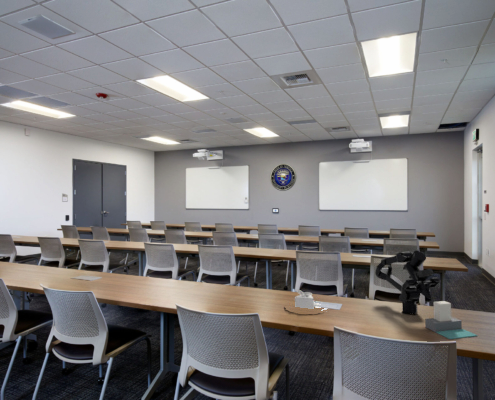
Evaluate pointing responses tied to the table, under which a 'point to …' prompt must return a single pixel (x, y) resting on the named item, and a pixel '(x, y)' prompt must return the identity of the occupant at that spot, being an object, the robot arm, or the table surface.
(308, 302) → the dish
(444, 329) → the plinth
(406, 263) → the robot arm
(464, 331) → the mat
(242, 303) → the table surface
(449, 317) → the card box
